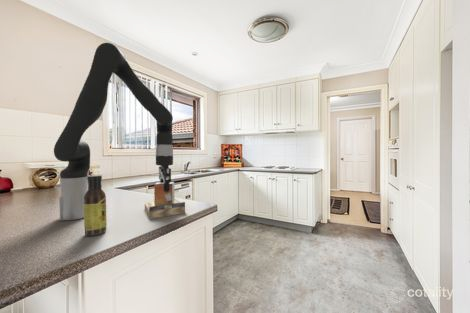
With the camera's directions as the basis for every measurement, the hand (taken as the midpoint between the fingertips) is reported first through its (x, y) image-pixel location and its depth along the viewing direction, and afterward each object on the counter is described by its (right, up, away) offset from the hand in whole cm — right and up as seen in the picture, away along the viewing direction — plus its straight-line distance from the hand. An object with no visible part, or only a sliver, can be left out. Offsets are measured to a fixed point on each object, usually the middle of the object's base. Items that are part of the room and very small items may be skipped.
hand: (164, 189), depth 92 cm
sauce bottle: (-15, -11, -23) cm, 30 cm away
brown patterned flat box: (-1, -10, +2) cm, 10 cm away
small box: (0, -8, 0) cm, 8 cm away
